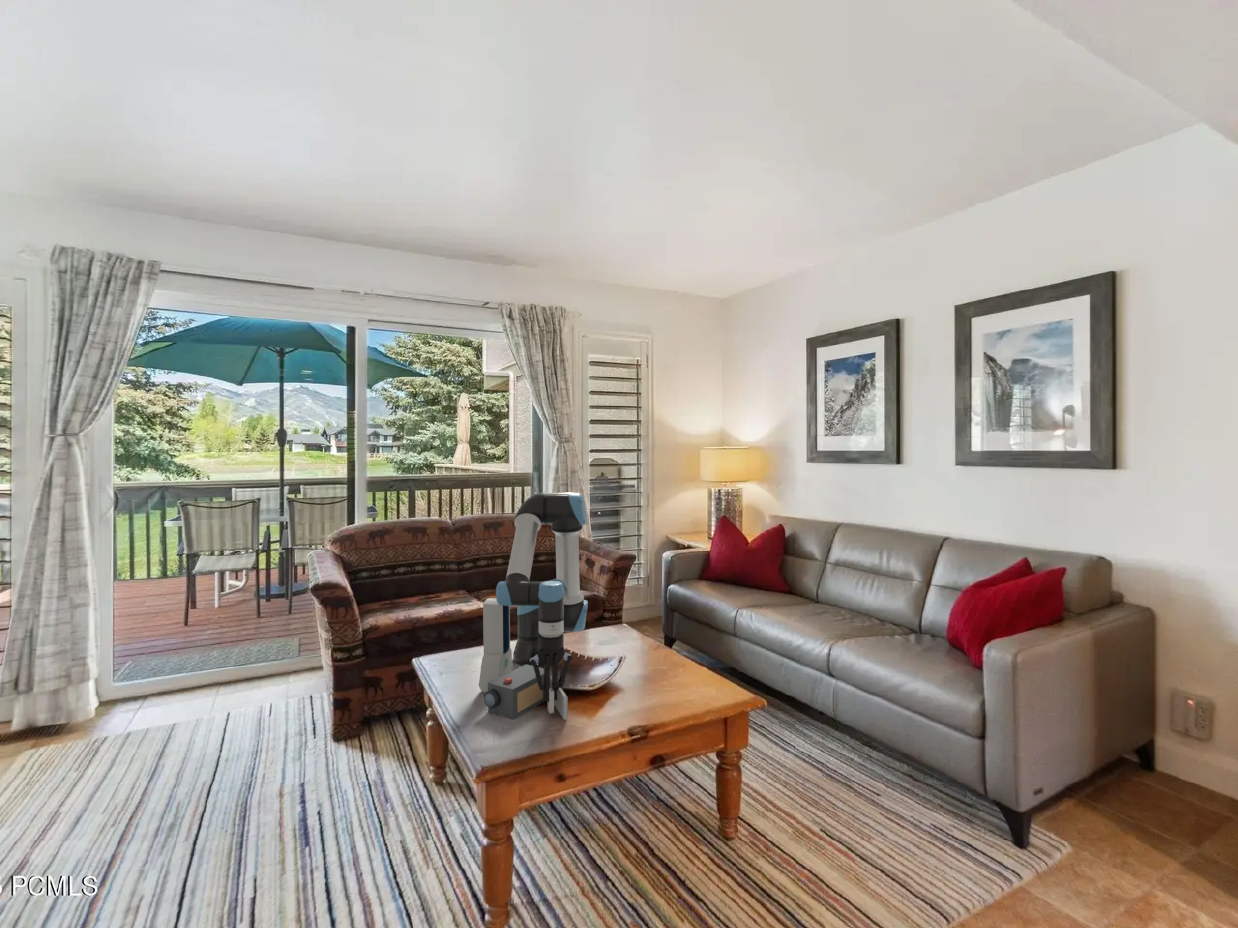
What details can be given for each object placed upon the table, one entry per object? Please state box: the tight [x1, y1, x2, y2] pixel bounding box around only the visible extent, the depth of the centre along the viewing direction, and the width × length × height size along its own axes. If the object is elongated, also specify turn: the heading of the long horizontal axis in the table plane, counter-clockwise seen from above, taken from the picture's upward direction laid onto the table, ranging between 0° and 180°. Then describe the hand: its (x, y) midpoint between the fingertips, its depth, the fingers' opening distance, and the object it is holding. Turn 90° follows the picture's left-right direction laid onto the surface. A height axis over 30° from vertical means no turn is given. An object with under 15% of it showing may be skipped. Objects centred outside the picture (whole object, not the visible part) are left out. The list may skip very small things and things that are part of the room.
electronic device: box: [478, 597, 513, 694], centre depth 204 cm, size 12×8×30 cm, turn 168°
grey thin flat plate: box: [550, 674, 569, 721], centre depth 188 cm, size 17×2×7 cm, turn 21°
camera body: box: [483, 664, 546, 720], centre depth 190 cm, size 20×10×10 cm, turn 149°
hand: (550, 711), depth 183 cm, fingers closed
